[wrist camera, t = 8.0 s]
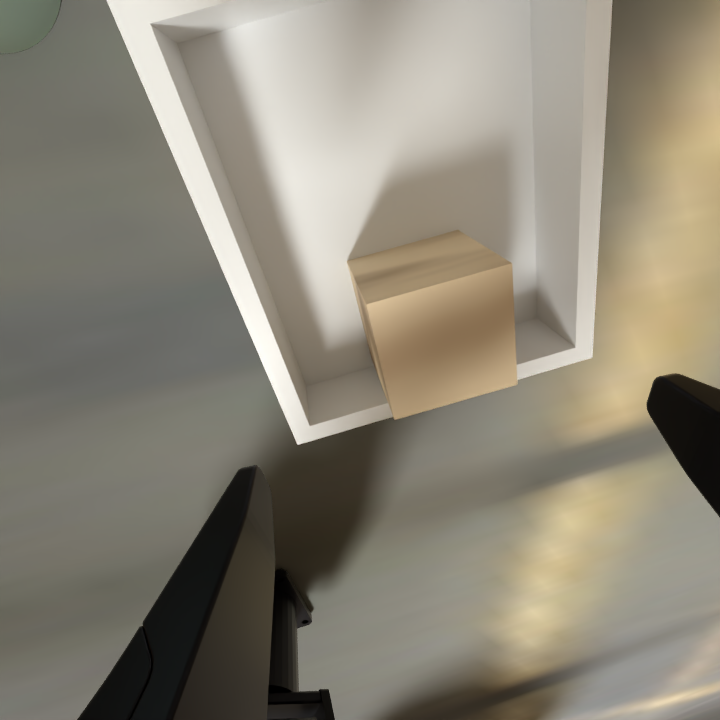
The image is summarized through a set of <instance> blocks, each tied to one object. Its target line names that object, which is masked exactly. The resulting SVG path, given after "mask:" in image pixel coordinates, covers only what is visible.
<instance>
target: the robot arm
mask: <svg viewBox="0 0 720 720" xmlns="http://www.w3.org/2000/svg"><path fill="white" fill-rule="evenodd" d="M647 410H648V413H649V415H650V417H651V418H652V420H653V421H654V423H655V425H656V426H657V428H658V430H659V431H660V433H661V434H662V436H663V438H664V439H665V441H666V443H667V444H668V446H669V447H670V449H671V451H672V452H673V454H674V455H675V457H676V459H677V460H678V462H679V463H680V465H681V466H682V468H683V469H684V471H685V472H686V474H687V475H688V477H689V478H690V479H691V481H692V482H693V483H694V485H695V486H696V487H697V489H698V490H699V491H700V492H701V494H702V495H703V496H704V498H705V499H706V500H707V502H708V503H709V504H710V505H711V507H712V508H713V509H714V511H715V512H716V513H717V515H718V516H719V517H720V389H717V388H715V387H712V386H709V385H707V384H704V383H702V382H699V381H696V380H694V379H691V378H689V377H686V376H683V375H680V374H668V375H664V376H659V377H657V378H656V379H655V380H654V382H653V384H652V388H651V391H650V394H649V397H648V400H647ZM311 622H312V616H311V613H310V611H309V610H308V608H307V606H306V604H305V603H304V601H303V599H302V597H301V596H300V594H299V592H298V590H297V588H296V587H295V585H294V583H293V581H292V580H291V578H290V576H289V574H288V573H287V572H286V571H285V570H277V571H275V545H274V527H273V510H272V494H271V489H270V486H269V484H268V482H267V480H266V479H265V477H264V475H263V473H262V471H261V469H260V467H259V466H257V465H253V466H249V467H244V468H241V469H240V470H238V472H237V473H236V475H235V476H234V478H233V479H232V481H231V483H230V484H229V486H228V487H227V489H226V491H225V492H224V494H223V495H222V497H221V499H220V500H219V502H218V503H217V505H216V507H215V508H214V510H213V511H212V513H211V514H210V516H209V518H208V519H207V521H206V522H205V524H204V526H203V527H202V529H201V530H200V532H199V534H198V535H197V537H196V538H195V540H194V542H193V543H192V545H191V546H190V548H189V549H188V551H187V553H186V554H185V556H184V557H183V559H182V561H181V562H180V564H179V565H178V567H177V569H176V570H175V572H174V573H173V575H172V577H171V578H170V580H169V581H168V583H167V584H166V586H165V588H164V589H163V591H162V592H161V594H160V596H159V597H158V599H157V600H156V602H155V604H154V605H153V607H152V608H151V610H150V612H149V613H148V615H147V616H146V618H145V619H144V621H143V626H141V627H139V629H138V630H137V632H136V634H135V635H134V637H133V638H132V640H131V641H130V643H129V645H128V646H127V648H126V649H125V651H124V652H123V654H122V655H121V657H120V659H119V660H118V662H117V663H116V665H115V666H114V668H113V669H112V671H111V672H110V674H109V675H108V677H107V678H106V680H105V681H104V683H103V684H102V685H101V687H100V688H99V690H98V691H97V693H96V694H95V695H94V697H93V698H92V700H91V701H90V702H89V704H88V705H87V707H86V708H85V710H84V711H83V712H82V714H81V715H80V717H79V718H78V719H77V720H335V718H334V713H333V708H332V703H331V699H330V694H329V689H320V690H319V691H305V692H299V680H298V644H297V628H300V627H303V626H306V625H309V624H310V623H311Z"/></svg>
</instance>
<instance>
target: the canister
mask: <svg viewBox="0 0 720 720" xmlns="http://www.w3.org/2000/svg"><path fill="white" fill-rule="evenodd" d="M60 4H61V0H0V54H10V53H16V52H21V51H24V50H26V49H29V48H31V47H33V46H34V45H36V44H38V43H39V42H40V41H41V40H42V39H43V38H44V37H46V35H47V34H48V33H49V31H50V30H51V29H52V27H53V25H54V23H55V21H56V19H57V16H58V12H59V9H60Z"/></svg>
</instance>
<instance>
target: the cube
mask: <svg viewBox="0 0 720 720" xmlns="http://www.w3.org/2000/svg"><path fill="white" fill-rule="evenodd" d="M347 265H348V269H349V272H350V276H351V280H352V284H353V288H354V292H355V296H356V300H357V304H358V308H359V312H360V316H361V320H362V323H363V327H364V331H365V335H366V339H367V343H368V347H369V351H370V355H371V358H372V361H373V364H374V367H375V369H376V372H377V375H378V377H379V380H380V383H381V385H382V388H383V391H384V393H385V396H386V399H387V401H388V404H389V407H390V409H391V412H392V415H393V417H394V420H396V419H400V418H403V417H407V416H410V415H414V414H417V413H421V412H424V411H428V410H431V409H434V408H438V407H441V406H445V405H448V404H452V403H455V402H459V401H462V400H466V399H469V398H473V397H476V396H479V395H483V394H486V393H490V392H493V391H497V390H500V389H504V388H507V387H511V386H514V385H517V363H516V340H515V317H514V295H513V272H512V263H511V262H509V261H508V260H506V259H504V258H503V257H501V256H500V255H498V254H496V253H495V252H493V251H492V250H490V249H488V248H487V247H485V246H483V245H482V244H480V243H479V242H477V241H475V240H474V239H472V238H470V237H469V236H467V235H466V234H464V233H462V232H461V231H459V230H455V231H452V232H448V233H445V234H441V235H438V236H434V237H430V238H427V239H423V240H420V241H416V242H413V243H409V244H405V245H402V246H398V247H395V248H391V249H388V250H384V251H381V252H377V253H373V254H370V255H366V256H363V257H359V258H356V259H352V260H348V261H347Z"/></svg>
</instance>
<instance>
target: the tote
mask: <svg viewBox="0 0 720 720" xmlns="http://www.w3.org/2000/svg"><path fill="white" fill-rule="evenodd" d="M107 2H108V5H109V7H110V9H111V11H112V14H113V16H114V18H115V21H116V23H117V25H118V28H119V30H120V32H121V35H122V37H123V39H124V42H125V44H126V46H127V49H128V51H129V53H130V56H131V58H132V60H133V63H134V65H135V67H136V70H137V72H138V74H139V77H140V79H141V81H142V84H143V86H144V88H145V91H146V93H147V95H148V98H149V100H150V102H151V105H152V107H153V109H154V112H155V114H156V116H157V119H158V121H159V123H160V126H161V128H162V130H163V133H164V135H165V137H166V140H167V142H168V144H169V147H170V149H171V151H172V154H173V156H174V158H175V161H176V163H177V165H178V168H179V170H180V172H181V175H182V177H183V179H184V182H185V184H186V186H187V189H188V191H189V193H190V196H191V198H192V200H193V203H194V205H195V207H196V209H197V212H198V214H199V216H200V219H201V221H202V223H203V226H204V228H205V230H206V233H207V235H208V237H209V240H210V242H211V244H212V247H213V249H214V251H215V254H216V256H217V258H218V261H219V263H220V265H221V268H222V270H223V272H224V275H225V277H226V279H227V282H228V284H229V286H230V289H231V291H232V293H233V296H234V298H235V300H236V303H237V305H238V307H239V310H240V312H241V314H242V317H243V319H244V321H245V324H246V326H247V328H248V331H249V333H250V335H251V338H252V340H253V342H254V345H255V347H256V349H257V352H258V354H259V356H260V359H261V361H262V363H263V366H264V368H265V370H266V373H267V375H268V377H269V380H270V382H271V384H272V387H273V389H274V391H275V394H276V396H277V398H278V401H279V403H280V405H281V407H282V410H283V412H284V414H285V417H286V419H287V421H288V424H289V426H290V428H291V431H292V433H293V435H294V438H295V440H296V442H297V445H299V444H303V443H306V442H310V441H313V440H316V439H320V438H323V437H326V436H330V435H333V434H337V433H340V432H343V431H347V430H350V429H353V428H357V427H360V426H363V425H367V424H370V423H374V422H377V421H380V420H384V419H387V418H390V417H393V415H392V412H391V409H390V407H389V404H388V401H387V399H386V396H385V393H384V391H383V388H382V385H381V383H380V380H379V377H378V375H377V372H376V369H375V367H374V364H373V361H372V358H371V355H370V351H369V347H368V343H367V339H366V335H365V331H364V327H363V323H362V320H361V316H360V312H359V308H358V304H357V300H356V296H355V292H354V288H353V284H352V280H351V276H350V272H349V269H348V265H347V261H348V260H352V259H356V258H359V257H363V256H366V255H370V254H373V253H377V252H381V251H384V250H388V249H391V248H395V247H398V246H402V245H405V244H409V243H413V242H416V241H420V240H423V239H427V238H430V237H434V236H438V235H441V234H445V233H448V232H452V231H455V230H459V231H461V232H462V233H464V234H466V235H467V236H469V237H470V238H472V239H474V240H475V241H477V242H479V243H480V244H482V245H483V246H485V247H487V248H488V249H490V250H492V251H493V252H495V253H496V254H498V255H500V256H501V257H503V258H504V259H506V260H508V261H509V262H511V263H512V272H513V295H514V317H515V340H516V363H517V380H519V379H522V378H525V377H529V376H532V375H535V374H539V373H542V372H546V371H549V370H552V369H556V368H559V367H562V366H566V365H569V364H573V363H576V362H579V361H583V360H586V359H589V358H592V353H593V335H594V318H595V300H596V282H597V265H598V247H599V229H600V212H601V194H602V176H603V159H604V141H605V123H606V106H607V88H608V70H609V53H610V35H611V17H612V0H107Z"/></svg>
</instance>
